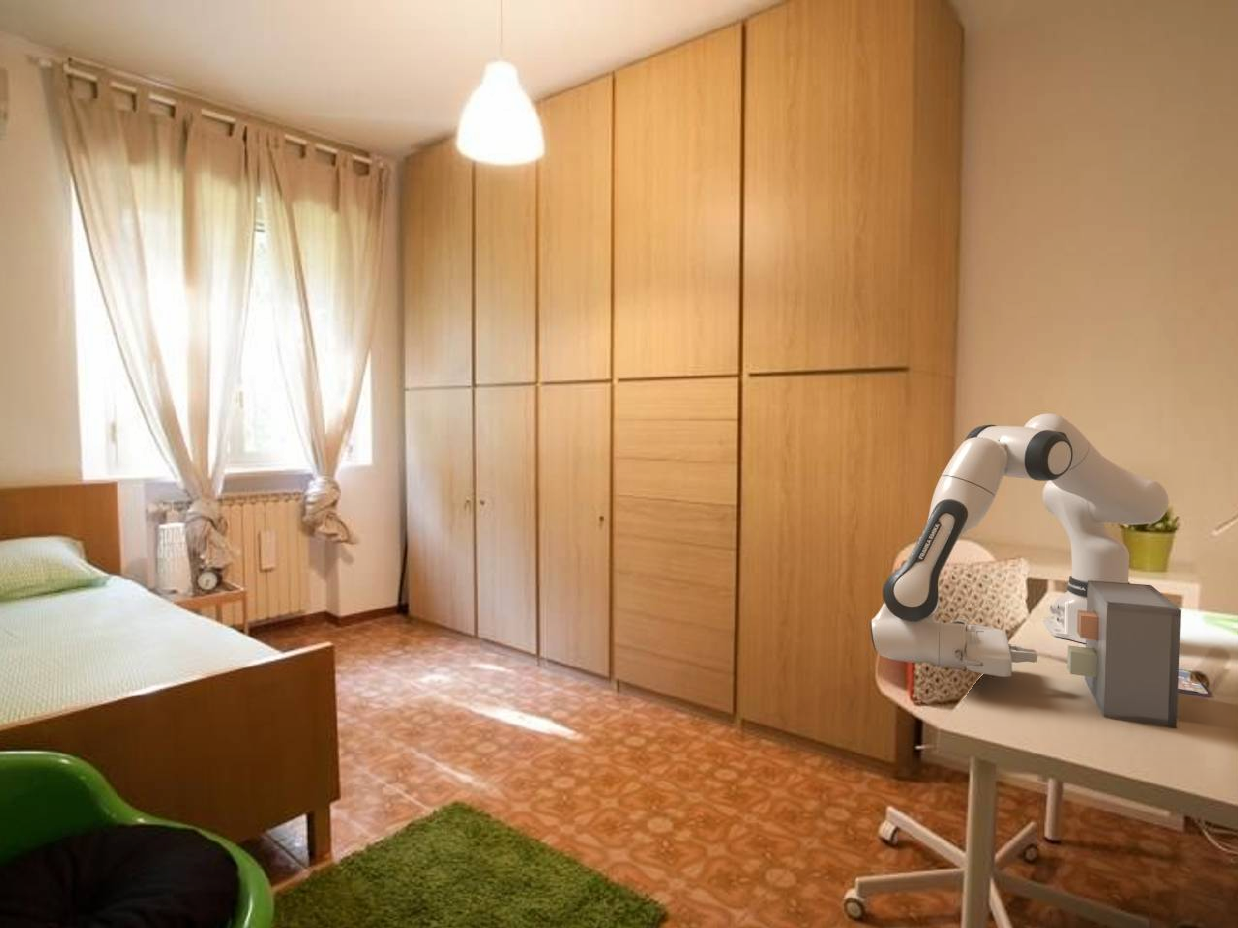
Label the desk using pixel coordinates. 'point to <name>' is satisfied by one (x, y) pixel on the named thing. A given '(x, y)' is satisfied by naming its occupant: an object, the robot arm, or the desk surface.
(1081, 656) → the key lower
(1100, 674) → the box
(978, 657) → the robot arm
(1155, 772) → the desk surface
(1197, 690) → the smartphone
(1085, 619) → the key upper
